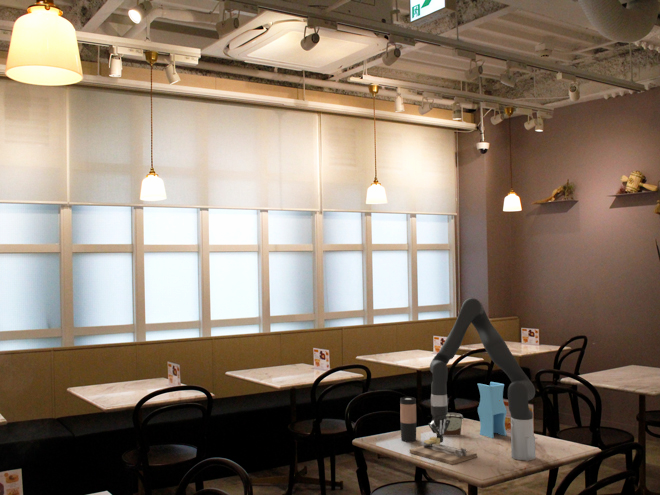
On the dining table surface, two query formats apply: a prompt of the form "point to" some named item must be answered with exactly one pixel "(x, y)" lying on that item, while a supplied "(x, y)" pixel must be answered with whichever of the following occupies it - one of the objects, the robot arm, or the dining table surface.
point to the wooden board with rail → (443, 454)
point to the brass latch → (432, 440)
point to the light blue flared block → (492, 409)
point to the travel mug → (408, 418)
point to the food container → (454, 424)
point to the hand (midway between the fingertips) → (439, 442)
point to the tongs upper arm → (443, 447)
